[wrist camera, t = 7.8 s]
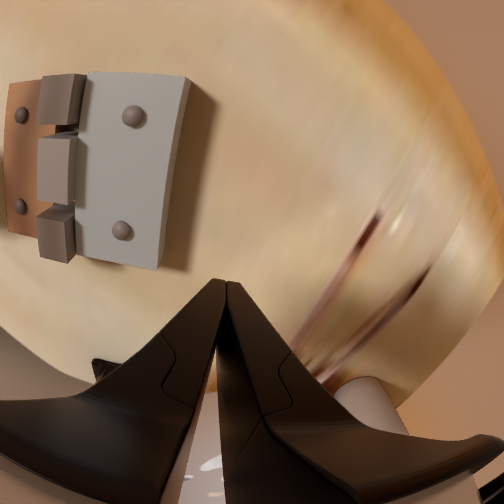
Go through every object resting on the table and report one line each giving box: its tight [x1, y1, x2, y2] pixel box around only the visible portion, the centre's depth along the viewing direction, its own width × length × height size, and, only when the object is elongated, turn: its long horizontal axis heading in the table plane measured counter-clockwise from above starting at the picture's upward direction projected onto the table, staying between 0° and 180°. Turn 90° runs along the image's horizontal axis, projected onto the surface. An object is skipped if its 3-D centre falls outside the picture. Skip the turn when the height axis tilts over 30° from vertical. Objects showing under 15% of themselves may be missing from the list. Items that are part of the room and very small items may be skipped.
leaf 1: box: [4, 74, 87, 264], centre depth 15 cm, size 8×12×4 cm, turn 167°
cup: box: [334, 377, 409, 436], centre depth 26 cm, size 8×10×8 cm
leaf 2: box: [37, 72, 192, 271], centre depth 16 cm, size 8×12×4 cm
